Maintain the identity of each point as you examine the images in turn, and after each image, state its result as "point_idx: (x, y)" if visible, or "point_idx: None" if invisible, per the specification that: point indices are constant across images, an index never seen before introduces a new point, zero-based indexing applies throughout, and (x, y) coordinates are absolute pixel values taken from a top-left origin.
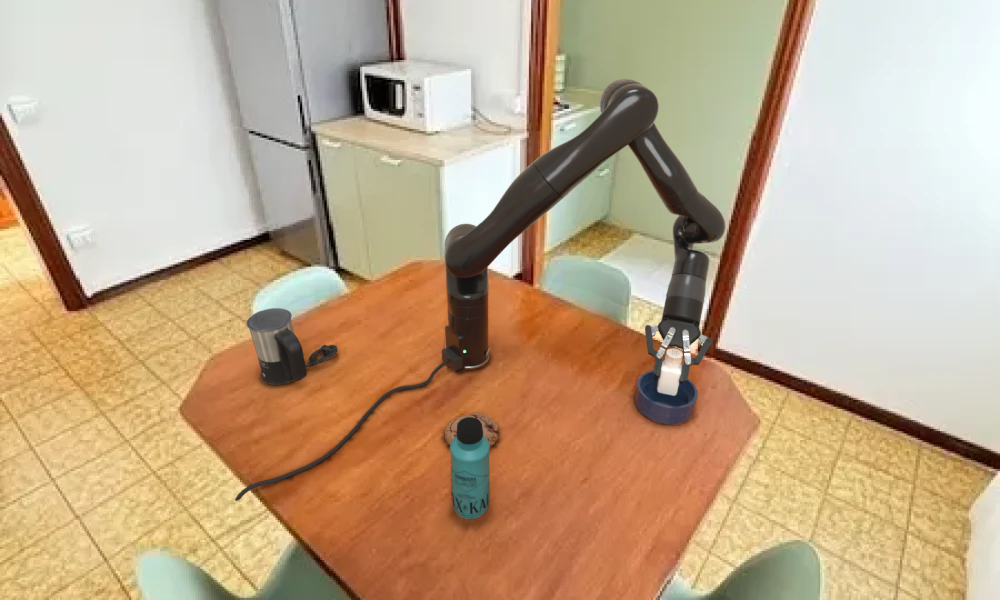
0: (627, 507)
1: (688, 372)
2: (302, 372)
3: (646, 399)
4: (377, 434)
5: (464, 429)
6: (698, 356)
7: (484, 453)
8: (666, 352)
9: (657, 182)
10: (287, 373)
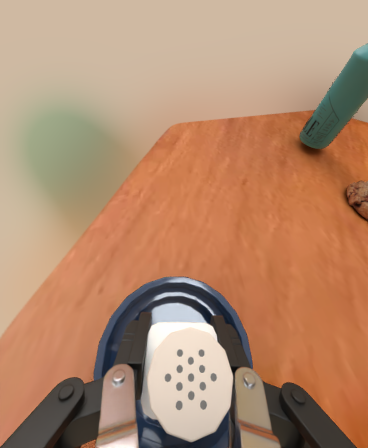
0: (199, 166)
1: (121, 344)
2: None
3: (216, 291)
4: None
5: None
6: (53, 420)
7: (357, 50)
8: (230, 370)
9: None
10: None
